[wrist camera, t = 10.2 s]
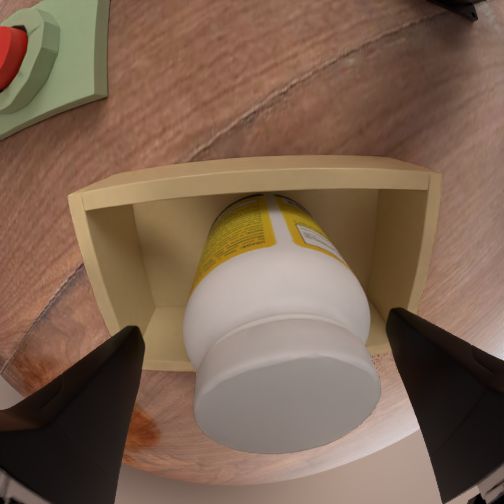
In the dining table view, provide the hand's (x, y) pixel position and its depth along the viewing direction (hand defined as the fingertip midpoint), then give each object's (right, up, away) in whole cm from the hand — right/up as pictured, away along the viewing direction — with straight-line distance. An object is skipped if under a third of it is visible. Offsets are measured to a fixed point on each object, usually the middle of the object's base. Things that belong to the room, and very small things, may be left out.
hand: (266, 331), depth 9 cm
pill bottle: (0, +3, +7) cm, 8 cm away
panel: (-15, +15, +2) cm, 21 cm away
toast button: (-15, +14, -1) cm, 20 cm away
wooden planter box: (0, +3, +7) cm, 8 cm away
